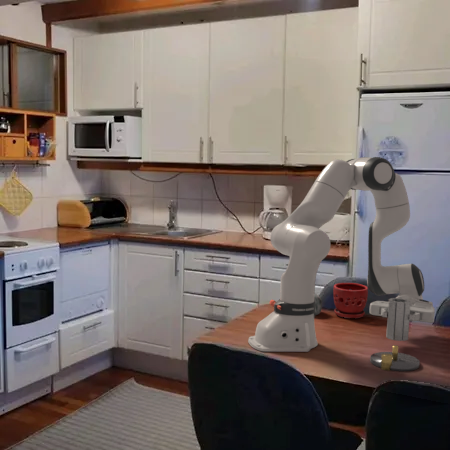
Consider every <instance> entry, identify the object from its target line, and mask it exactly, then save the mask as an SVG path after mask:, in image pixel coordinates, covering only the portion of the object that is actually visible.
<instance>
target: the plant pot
mask: <svg viewBox="0 0 450 450" xmlns="http://www.w3.org/2000/svg"><path fill="white" fill-rule="evenodd" d="M332 291H333V303H334V306H335V308H334V313H335V315H336V316H338V317H341V318H343V317H344V319H350V318H355V319H359V318H363V317H364V315H365V314H366V312H365V311H364V309H365V308H366V305H367V302H368V297H369V288H368V285H365V284H364V285H363V284H360V283H356V282H338V283H335V284H334V285H333V290H332Z"/></svg>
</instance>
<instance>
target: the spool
mask: <svg viewBox="0 0 450 450" xmlns="http://www.w3.org/2000/svg"><path fill="white" fill-rule="evenodd" d="M314 301H315V307H316V311H315V316H318V315H320V313H321V312H322V309H323V301H322V299H321V297H320V296H319V295H318V294H316V293H315V294H314Z"/></svg>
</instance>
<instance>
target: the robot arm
mask: <svg viewBox="0 0 450 450" xmlns="http://www.w3.org/2000/svg"><path fill="white" fill-rule="evenodd" d="M350 190H352V191H357V190H358V191H364V192H366V191H370V193H371V194H372V196H373V198H374V206H375V218H374V220H373V221H372V222H371V223H370V225H369V228H368V241H367V243H368V246H367V247H368V249H367V253H368V254H367V255H368V257H367V259H368V261H367V263H368V264H367V266H368V267H367V278H366V281H367V282H366V283H367V287H368V291H370V292H371V293H373V294H374V295H376V296H378V297H380V296H386V295H391V294H398V295H397V296H396V297H395V298H401V299H406V300H410V302H411V304H410V315H409V322H422V323H429V324H433V323H434V322H435V313H436V309H435V307H434V303H433V302H432V301H430V300H425V299H424V298H423V293H424V292H425V279H424V275H423V273H422V270H421V269H420V268H419V267H418V266H417V265H415V264H414V263H406V264H405V263H403V264H399V265H398V264H397V265H388V266H387V265H385V266H383V265H382V261H381V259H382V253H381V252H382V242H383V240H384V239H386V237H389V236H391V235H393V234H394V233H397V232H398V231H400V230H401V229H402V228H404V227H405V226H406V225H407V224H408V222H409V221H410V218H411V208H410V201H409V196H408V192H407V189H406V186H405V183H404V181H403V178H402V177H401V175H400V174H398V173H397V172H395V170H394V167H393V164H391V162H390V161H389V160H388V159H385V158H383V157H379V156H374V157H369V156H362V157H357V158H351V159H348V160H347V161H345V160H343V159H336V158H335V159H333V160H331V161H330V162H328V164H327V165H326V166H325V167H324V168H323V169H322V171H321V172H320V173H319V174H318V176H317V178H316V179H315V180H314V182H313V184H312V185H311V187H310V189H309V190H308V192H307V194H306V195H305V197H304V199H303V200H302V201H301V202H300V204H299V205H298V206H297V208H296V209H294V211H293V212H292V213H290V215H288V216H287V218H286V219H285V220H283V221H282V222H281V223H278V224H277V225H275V226H274V227H273V229H272V230H271V232H270V235H269V236H270V238H269V239H270V243H271V245H272V247H273V249H275V250H276V251H277V252H278V253H281V254H282V255H285V256H287V257H289V259H288V263H287V267H286V269H285V271H284V272H283V273H282V274H281V276H280V285H279V287H280V289H279V291H280V293H279V299H278V300H277V301H276V300H274V299H270V301H269V306H271V307H272V308H273V311H272V312H270V314H269V315H267V316H265V317H263V319H262V320H260V321H259V322H258V323H257V325H256V328H255V333H254V335H252V336H249V337H248V340H247V342H248V344H249V345H250V346H251V347H252V348H253V349H255V350H257V351H259V352H278V353H279V352H284V353H285V352H302V353H303V352H305V353H307V352H310V351H311V349H314V348H315V347H317V346H318V340H317V335H316V328H315V327H316V325H315V317H316V315H315V311H316V307H315V301H314V294H316V292H315V291H316V290H315V289H316V288H315V287H316V278H317V273H318V270H319V267H320V265H321V263H322V260H325V258H326V257H327V256H328V254H329V252H330V250H331V246H332V245H331V239H330V237H329V235H328V234H327V233H326V232H325V231H323V230H322V229H320V228H322V227H323V226H324V225H325V224H327V223H329V222H331V221H332V220H333V218H334V217H335V215H336V214H337V212H338V210H339V209H340V207H341V205H342V203H344V200H345V198H346V196H347V195H348V193H349V191H350ZM388 302H389V301H384V300H376V301H372V302H370V304H369V314H370V315H373V316H380V317H382V318H387V317H388Z"/></svg>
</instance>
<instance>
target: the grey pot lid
mask: <svg viewBox="0 0 450 450" xmlns="http://www.w3.org/2000/svg"><path fill="white" fill-rule="evenodd" d="M369 361H370V363H371V364H372V365H373V366H375V367H377V368H379V369H380V370H382V371H392V372H393V371H394V372H412V371H415V370H418V369H419V368H420V359H418V358H417V357H415V356H412V355H410V354H406V353H403V352H399V345H392V351H378V352H374V353H372V354H371V355H370V358H369Z"/></svg>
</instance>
